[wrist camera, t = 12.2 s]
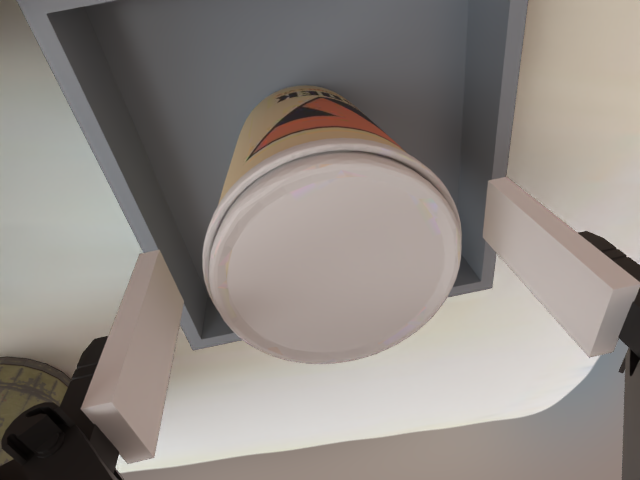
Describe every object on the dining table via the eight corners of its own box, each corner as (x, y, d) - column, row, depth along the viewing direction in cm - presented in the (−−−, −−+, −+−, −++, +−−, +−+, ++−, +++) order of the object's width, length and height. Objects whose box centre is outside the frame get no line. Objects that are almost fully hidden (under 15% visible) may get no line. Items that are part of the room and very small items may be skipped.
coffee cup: (408, 102, 23) (525, 200, 13) (345, 234, 27) (396, 382, 18) (248, 39, 20) (242, 106, 10) (207, 198, 25) (174, 352, 15)
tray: (201, 298, 30) (192, 350, 26) (65, -12, 19) (12, -8, 15) (460, 245, 31) (492, 288, 27) (480, -89, 19) (541, -105, 15)
